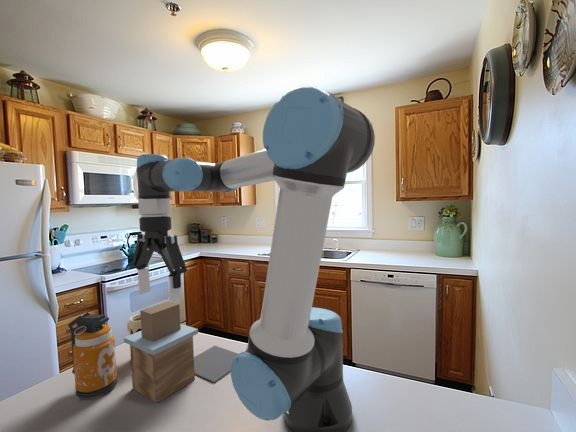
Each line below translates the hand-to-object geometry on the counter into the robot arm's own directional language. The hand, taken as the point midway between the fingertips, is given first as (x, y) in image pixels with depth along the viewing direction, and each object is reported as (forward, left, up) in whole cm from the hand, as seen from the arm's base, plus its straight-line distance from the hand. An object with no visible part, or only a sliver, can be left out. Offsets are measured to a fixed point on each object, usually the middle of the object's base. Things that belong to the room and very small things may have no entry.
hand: (159, 296), depth 77 cm
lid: (0, 0, -12) cm, 12 cm away
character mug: (+18, -5, -24) cm, 30 cm away
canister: (+14, +11, -24) cm, 30 cm away
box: (0, 0, -24) cm, 24 cm away
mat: (-4, -14, -24) cm, 28 cm away
